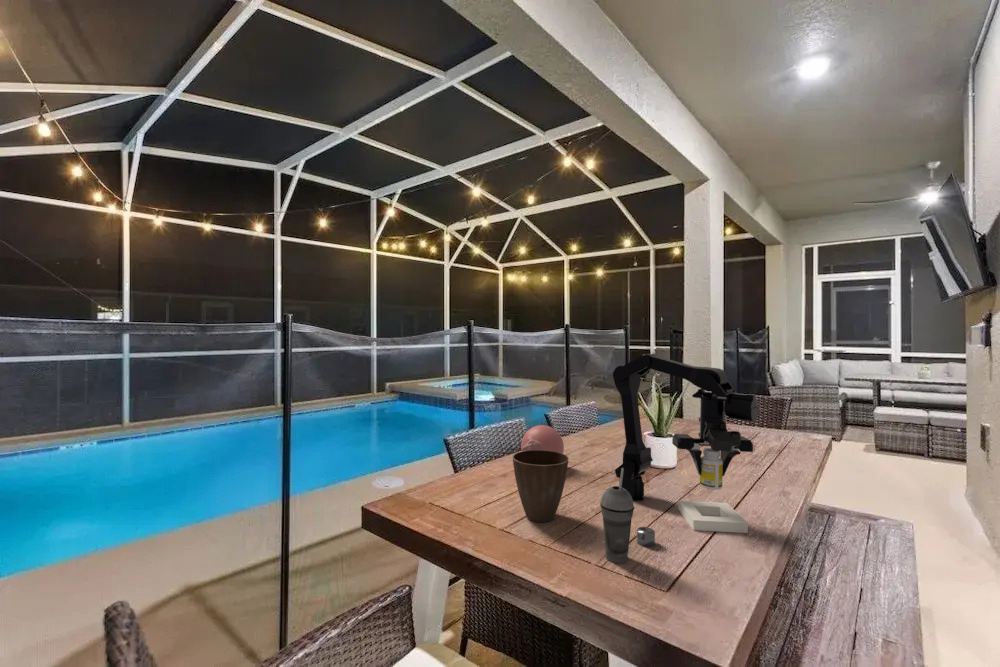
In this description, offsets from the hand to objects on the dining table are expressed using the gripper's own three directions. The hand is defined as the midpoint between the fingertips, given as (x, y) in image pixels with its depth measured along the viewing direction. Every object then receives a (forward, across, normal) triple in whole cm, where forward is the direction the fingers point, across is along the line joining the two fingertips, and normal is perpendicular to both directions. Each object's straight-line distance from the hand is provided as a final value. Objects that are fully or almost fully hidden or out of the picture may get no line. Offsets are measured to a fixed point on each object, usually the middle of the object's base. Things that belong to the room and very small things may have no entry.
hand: (711, 475), depth 118 cm
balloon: (+13, -46, +38) cm, 61 cm away
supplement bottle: (+3, 0, 0) cm, 3 cm away
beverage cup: (+12, -28, -23) cm, 38 cm away
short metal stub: (+12, -20, -15) cm, 28 cm away
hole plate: (+12, 0, 0) cm, 12 cm away
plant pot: (+12, -45, -3) cm, 47 cm away
